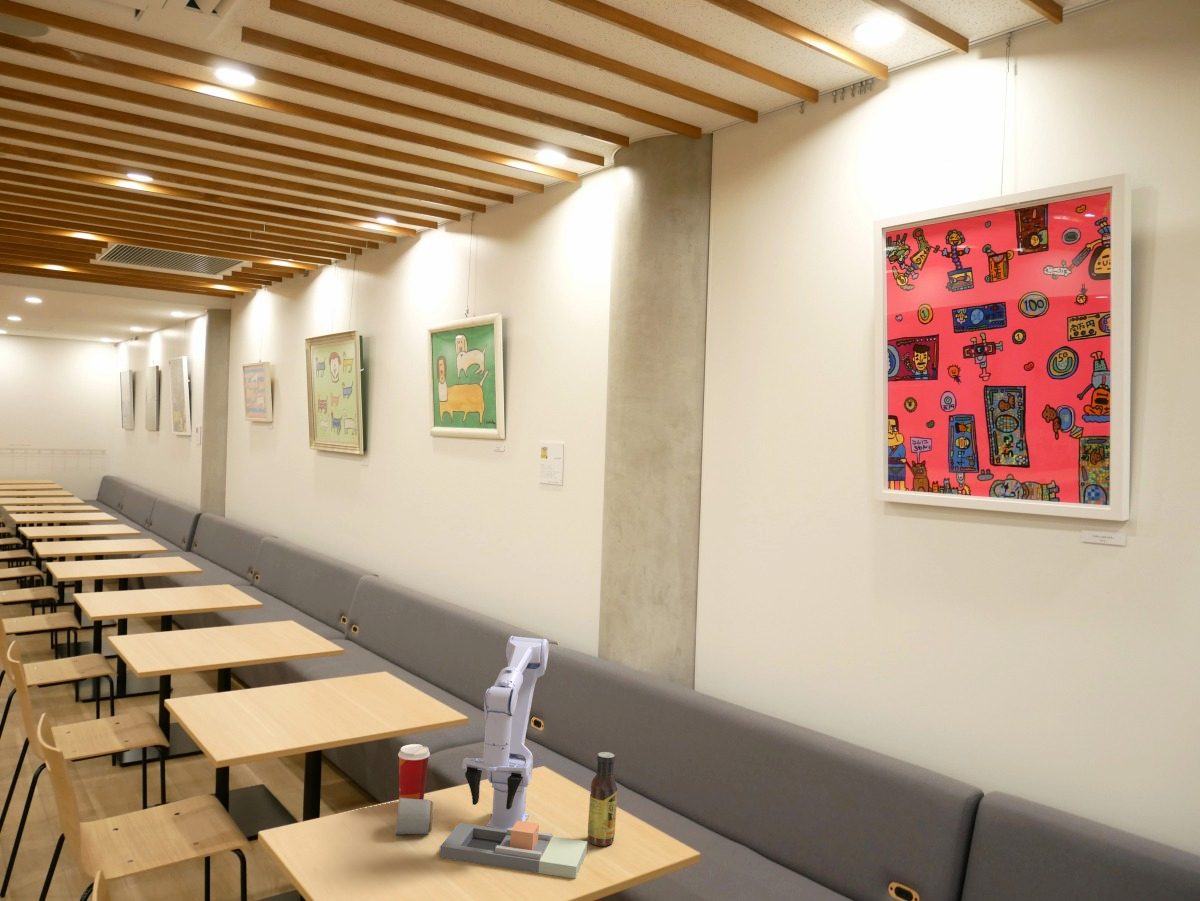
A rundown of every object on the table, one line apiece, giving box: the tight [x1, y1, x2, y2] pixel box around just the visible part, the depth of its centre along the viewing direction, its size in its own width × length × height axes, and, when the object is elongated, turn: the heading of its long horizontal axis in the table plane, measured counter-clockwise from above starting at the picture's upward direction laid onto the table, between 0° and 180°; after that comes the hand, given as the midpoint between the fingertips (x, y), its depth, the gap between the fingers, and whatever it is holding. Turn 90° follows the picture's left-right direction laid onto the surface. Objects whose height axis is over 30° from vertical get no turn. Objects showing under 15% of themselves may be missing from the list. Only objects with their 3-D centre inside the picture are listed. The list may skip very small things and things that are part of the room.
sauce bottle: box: [587, 751, 618, 847], centre depth 200 cm, size 7×6×20 cm
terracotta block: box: [510, 821, 540, 851], centre depth 190 cm, size 5×5×4 cm
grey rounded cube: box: [394, 797, 434, 835], centre depth 200 cm, size 11×8×8 cm
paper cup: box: [397, 743, 431, 800], centre depth 212 cm, size 8×8×14 cm
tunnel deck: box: [439, 822, 588, 879], centre depth 191 cm, size 12×30×4 cm, turn 80°
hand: (492, 805), depth 191 cm, fingers open, 7 cm apart
